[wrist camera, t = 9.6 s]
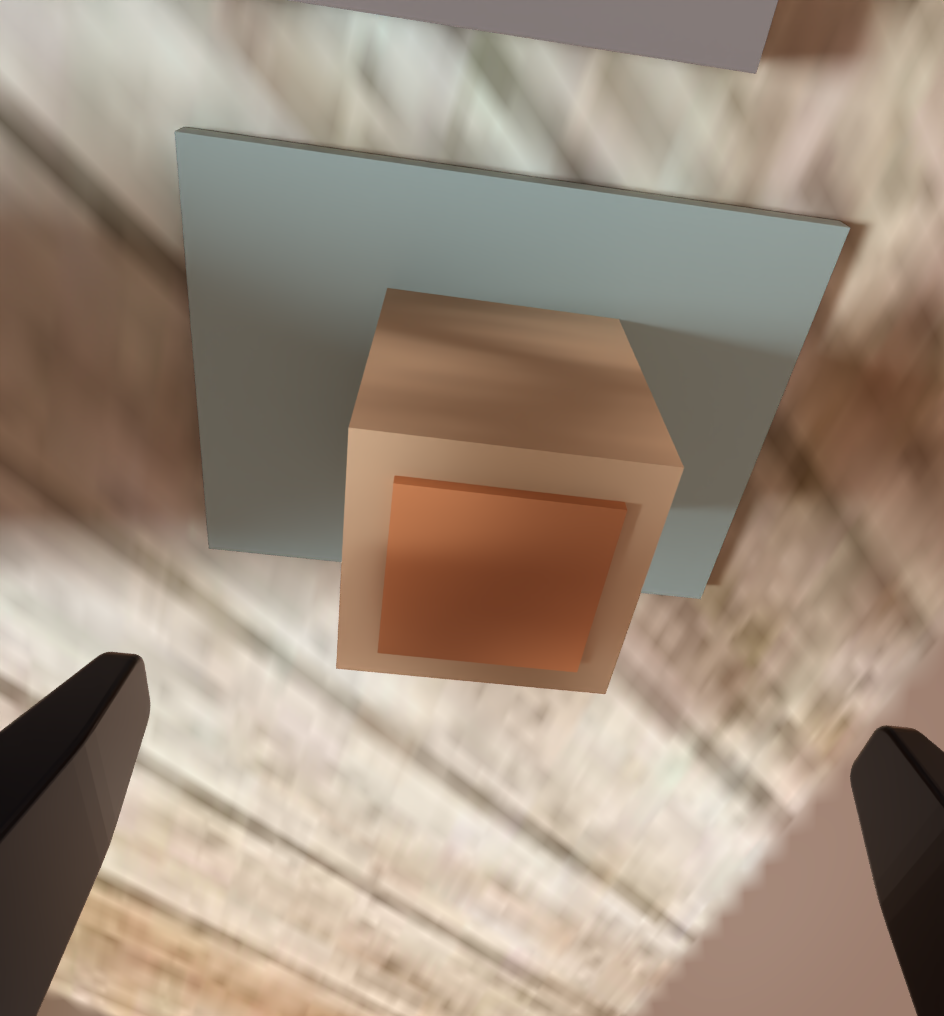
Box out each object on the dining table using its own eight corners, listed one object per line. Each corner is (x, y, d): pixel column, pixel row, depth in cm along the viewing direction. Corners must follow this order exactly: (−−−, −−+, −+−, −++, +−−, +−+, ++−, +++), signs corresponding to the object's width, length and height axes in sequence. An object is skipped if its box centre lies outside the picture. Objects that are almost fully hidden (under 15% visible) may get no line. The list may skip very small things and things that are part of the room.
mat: (214, 535, 18) (208, 548, 18) (183, 126, 13) (175, 131, 13) (695, 585, 19) (700, 599, 19) (839, 221, 14) (850, 227, 14)
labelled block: (372, 485, 17) (334, 677, 12) (387, 287, 14) (346, 435, 10) (570, 508, 17) (607, 703, 13) (618, 319, 15) (687, 475, 10)
